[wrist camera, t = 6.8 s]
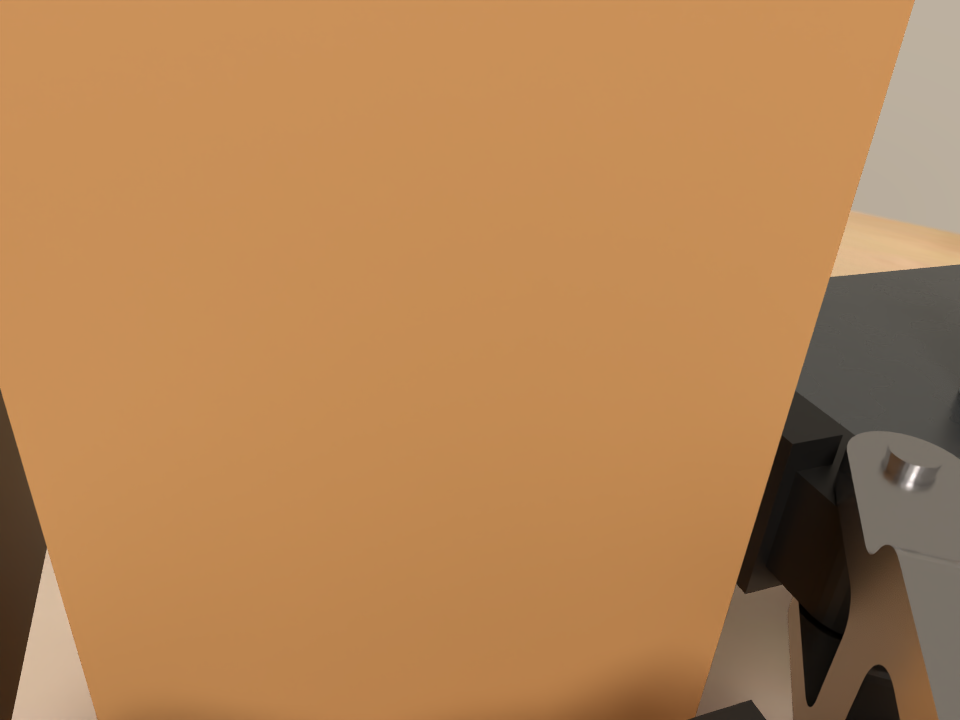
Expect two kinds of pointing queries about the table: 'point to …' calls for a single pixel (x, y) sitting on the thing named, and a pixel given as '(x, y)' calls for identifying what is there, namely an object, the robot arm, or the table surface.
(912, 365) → the shaft stand
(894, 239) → the table surface
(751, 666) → the table surface
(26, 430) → the tan rectangular holder
